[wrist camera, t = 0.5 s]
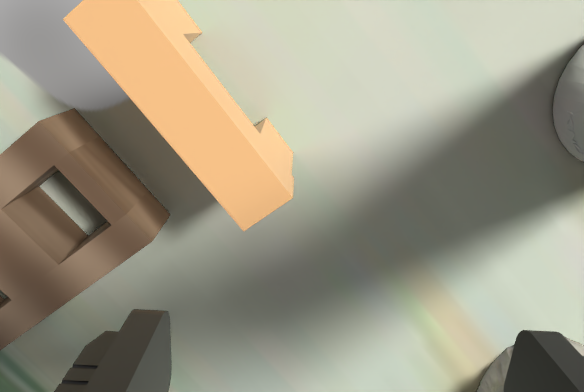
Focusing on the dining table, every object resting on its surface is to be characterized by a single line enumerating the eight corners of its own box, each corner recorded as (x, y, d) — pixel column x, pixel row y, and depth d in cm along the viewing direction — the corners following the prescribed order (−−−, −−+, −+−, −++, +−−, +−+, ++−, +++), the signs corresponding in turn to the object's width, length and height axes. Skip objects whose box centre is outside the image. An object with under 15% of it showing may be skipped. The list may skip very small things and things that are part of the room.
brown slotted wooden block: (74, 108, 27) (38, 121, 24) (170, 214, 30) (152, 241, 26) (-81, 241, 31) (-133, 271, 27) (16, 326, 34) (-20, 364, 30)
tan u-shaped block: (132, 21, 26) (63, 19, 18) (170, -13, 25) (114, -29, 17) (258, 178, 29) (243, 231, 21) (295, 152, 28) (292, 197, 21)
